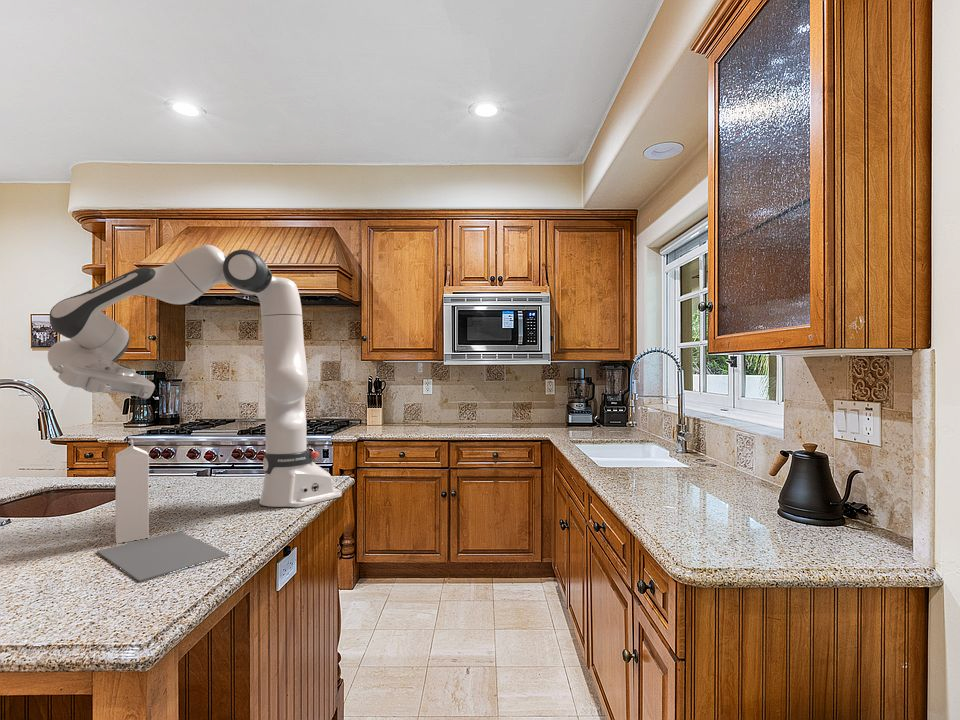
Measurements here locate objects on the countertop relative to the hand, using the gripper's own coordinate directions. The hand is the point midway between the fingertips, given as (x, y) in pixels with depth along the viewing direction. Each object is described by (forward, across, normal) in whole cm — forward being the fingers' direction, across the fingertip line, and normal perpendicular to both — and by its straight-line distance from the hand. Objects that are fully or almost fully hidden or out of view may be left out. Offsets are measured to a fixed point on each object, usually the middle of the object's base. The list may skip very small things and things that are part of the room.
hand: (127, 392), depth 123 cm
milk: (+18, +3, +28) cm, 34 cm away
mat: (+33, -2, +24) cm, 41 cm away
